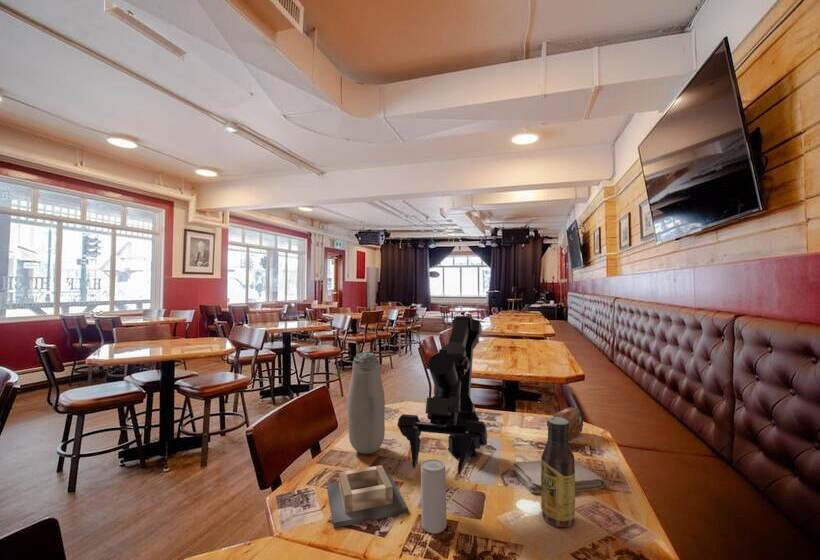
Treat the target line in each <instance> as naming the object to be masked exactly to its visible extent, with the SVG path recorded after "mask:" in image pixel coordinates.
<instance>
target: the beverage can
mask: <svg viewBox="0 0 820 560" xmlns="http://www.w3.org/2000/svg"><path fill="white" fill-rule="evenodd" d="M446 472H447V471H446V464H445V462H443V460H439V459H435V458H434V459H425V460H424V461H422V463H421V465H420V493H421V494H420V497H421V498H420V499H421V502H420V503H421V504H420V505H421V526H422V529H424V531H426V532H427V533H430V534H431V535H438V534H440V533H442V532H444V531H445V529H446V528H447V526H448V525H447V523H448V522H447V480H446V476H447V475H446V474H447V473H446Z"/></svg>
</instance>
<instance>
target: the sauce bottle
mask: <svg viewBox="0 0 820 560" xmlns="http://www.w3.org/2000/svg"><path fill="white" fill-rule="evenodd" d="M546 421H547V422H546V427H547V441H546V444H545V446H544V449H543V452H542V454H541V457H540V459H541V494H540V499H541V500H540V501H541V502H540V503H541V504H540V505H541V512H542V517H543V519H544V520H545V521H546V522H547V523H548V524H550V525H551V526H553V527H556V528H557V527H559V528H568V527H571V526H573V525H574V523H575V516H576V491H575V469H574V459H575V455H574V453H573V450H572V449H571V447H570V446H569V442H570V441H569V440H568V430H569V421H568V420H566V419H564V418H561V417H553V416H551V417H548V418H547V419H546Z"/></svg>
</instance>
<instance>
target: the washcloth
mask: <svg viewBox="0 0 820 560" xmlns="http://www.w3.org/2000/svg"><path fill="white" fill-rule="evenodd" d="M512 469H513V470H512V471H513V472H514V473H515V476H516V477H517V478H518V480H519V482H521V483H522V484H523V485H524V487H525V488H527V490H528V491H529V492H530V493H531V494H535V495H541V460H532V461H531V460H530V461H517V462H515V463H513V466H512ZM574 469H575V492H583V491H590V490H600V489H603V488H604V487H605V486H606V482H605V481H606V480H604V479H603V478H602V477H600V476H599V475H597V474H596V473H595V472H593V471H591V470H590V469H588V468H587V467H586V466H585V465H583V464H582V463H581V462H579V461H578V460H577V459H575V458H574Z"/></svg>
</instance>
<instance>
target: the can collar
mask: <svg viewBox="0 0 820 560" xmlns="http://www.w3.org/2000/svg"><path fill="white" fill-rule="evenodd" d="M326 489H327V495H328V496H327V498H328V502H329V508H330V513H331V518H332V519H331V520H332V526H333V529H337V528H342V527H346V526H351V525H352V526H353V525H356V524H360V523H365V522H371V521H375V520H380V519H385V518H389V517H393V516H394V517H395V516H398V515H405V514H408V513H409V510H408V506H407V504H406V502H405V500H404V498H403V497H402V494H401V492H400V490H399V488H398V487H397V485H396V483H395V481H394V479H393V477H392V475H391V473H387V472H386V471H385V469H384V467H383V465H376V466H375V465H374V466H368V467H362V468H357V469H350V470H344V471H339V472H338V482H333V483H332V482H331V483H327V484H326Z"/></svg>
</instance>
